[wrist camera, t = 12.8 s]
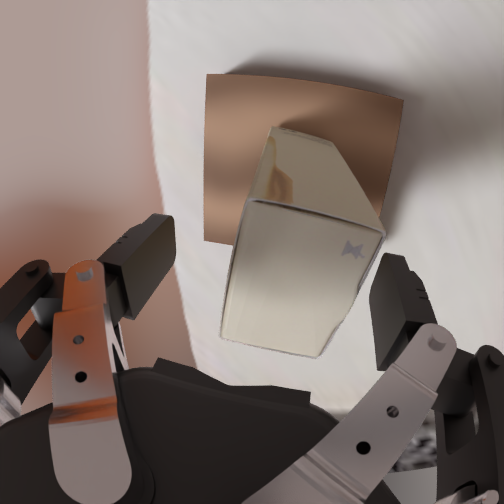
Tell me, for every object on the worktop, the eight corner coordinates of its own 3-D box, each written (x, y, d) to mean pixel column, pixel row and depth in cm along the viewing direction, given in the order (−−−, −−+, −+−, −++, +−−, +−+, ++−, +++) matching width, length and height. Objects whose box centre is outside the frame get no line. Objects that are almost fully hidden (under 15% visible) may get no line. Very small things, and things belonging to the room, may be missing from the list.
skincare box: (270, 124, 18) (244, 182, 8) (334, 141, 18) (396, 223, 8) (250, 211, 21) (213, 343, 11) (308, 225, 21) (321, 364, 11)
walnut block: (224, 75, 20) (206, 73, 17) (389, 97, 19) (403, 100, 15) (218, 219, 27) (204, 240, 24) (359, 242, 26) (364, 267, 22)
